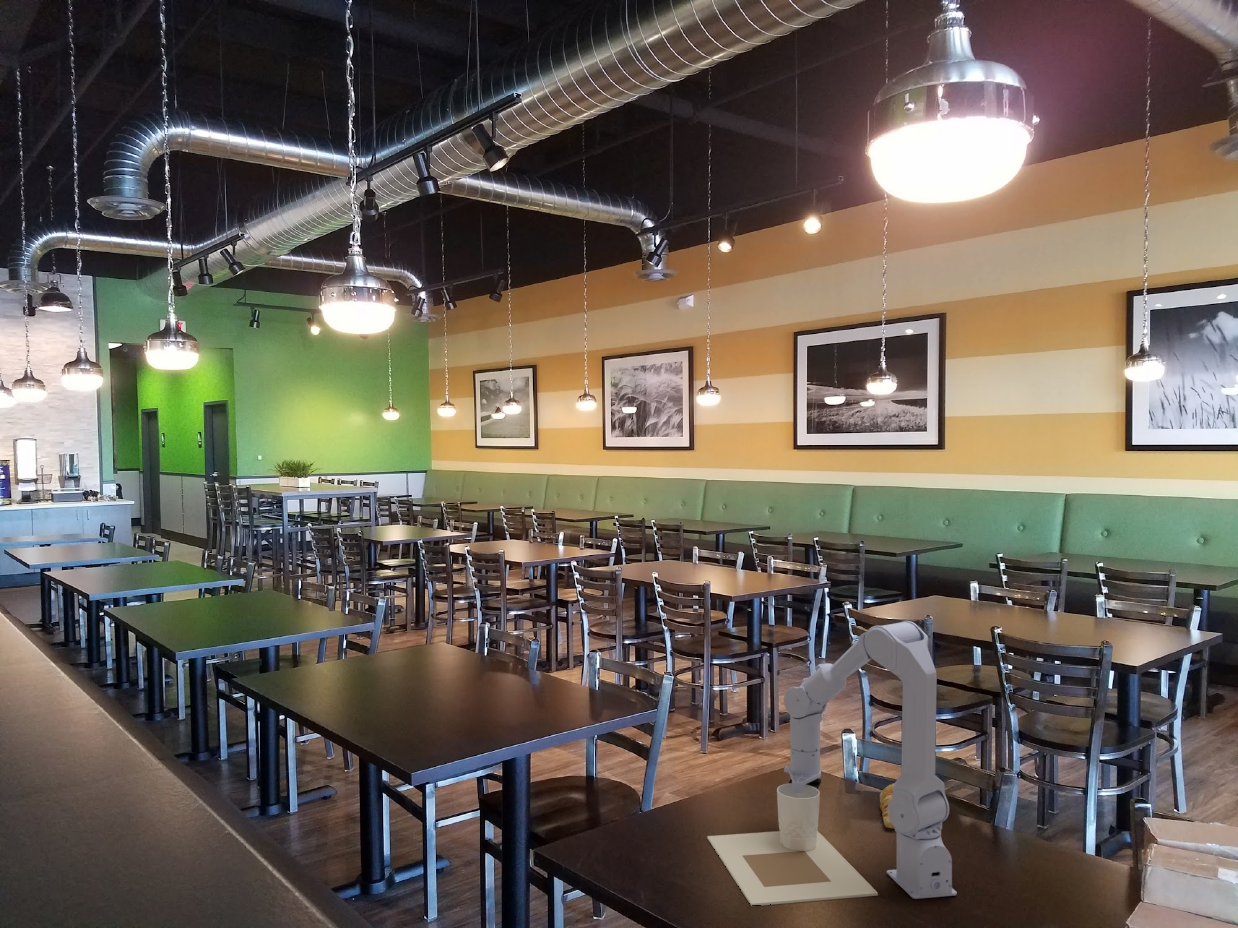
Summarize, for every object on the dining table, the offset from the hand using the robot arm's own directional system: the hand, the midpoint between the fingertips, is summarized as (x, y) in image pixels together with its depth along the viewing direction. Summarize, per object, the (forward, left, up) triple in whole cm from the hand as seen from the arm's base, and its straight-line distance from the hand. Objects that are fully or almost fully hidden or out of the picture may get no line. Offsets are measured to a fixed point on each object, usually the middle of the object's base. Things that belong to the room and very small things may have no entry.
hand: (805, 817), depth 166 cm
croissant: (+5, -24, -3) cm, 24 cm away
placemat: (-12, +9, -3) cm, 15 cm away
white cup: (-5, +4, -3) cm, 7 cm away
